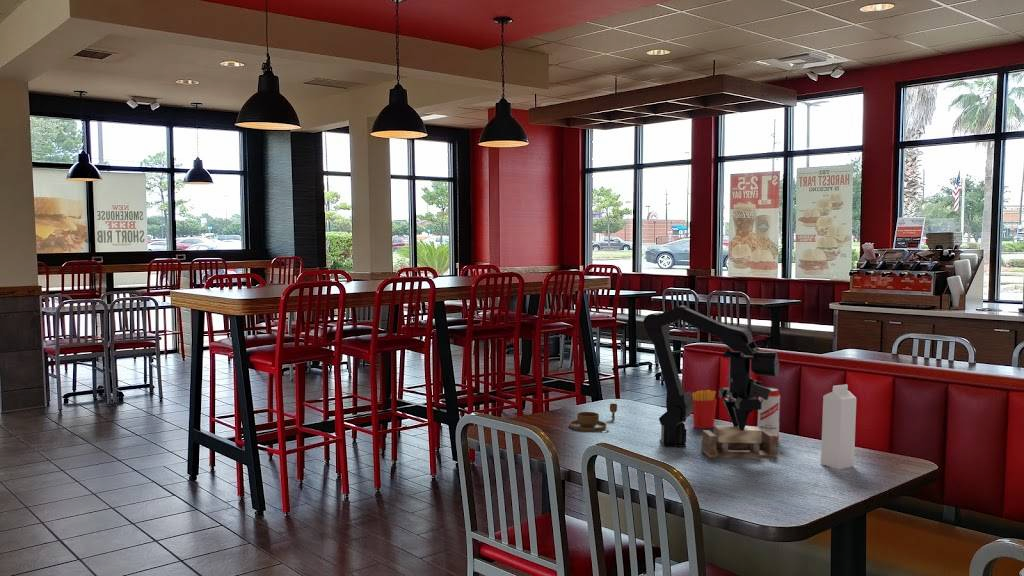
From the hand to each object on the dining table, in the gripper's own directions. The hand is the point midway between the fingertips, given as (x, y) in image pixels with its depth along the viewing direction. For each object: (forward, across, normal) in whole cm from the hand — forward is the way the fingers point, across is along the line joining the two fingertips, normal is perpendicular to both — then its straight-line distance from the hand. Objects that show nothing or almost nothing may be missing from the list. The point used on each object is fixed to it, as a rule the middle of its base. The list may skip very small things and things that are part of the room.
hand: (738, 428), depth 225 cm
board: (+4, 0, 0) cm, 4 cm away
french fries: (+7, +33, 0) cm, 34 cm away
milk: (+8, -12, -23) cm, 27 cm away
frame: (+7, 0, 0) cm, 7 cm away
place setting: (+8, +34, +34) cm, 49 cm away
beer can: (+8, +14, -14) cm, 21 cm away
